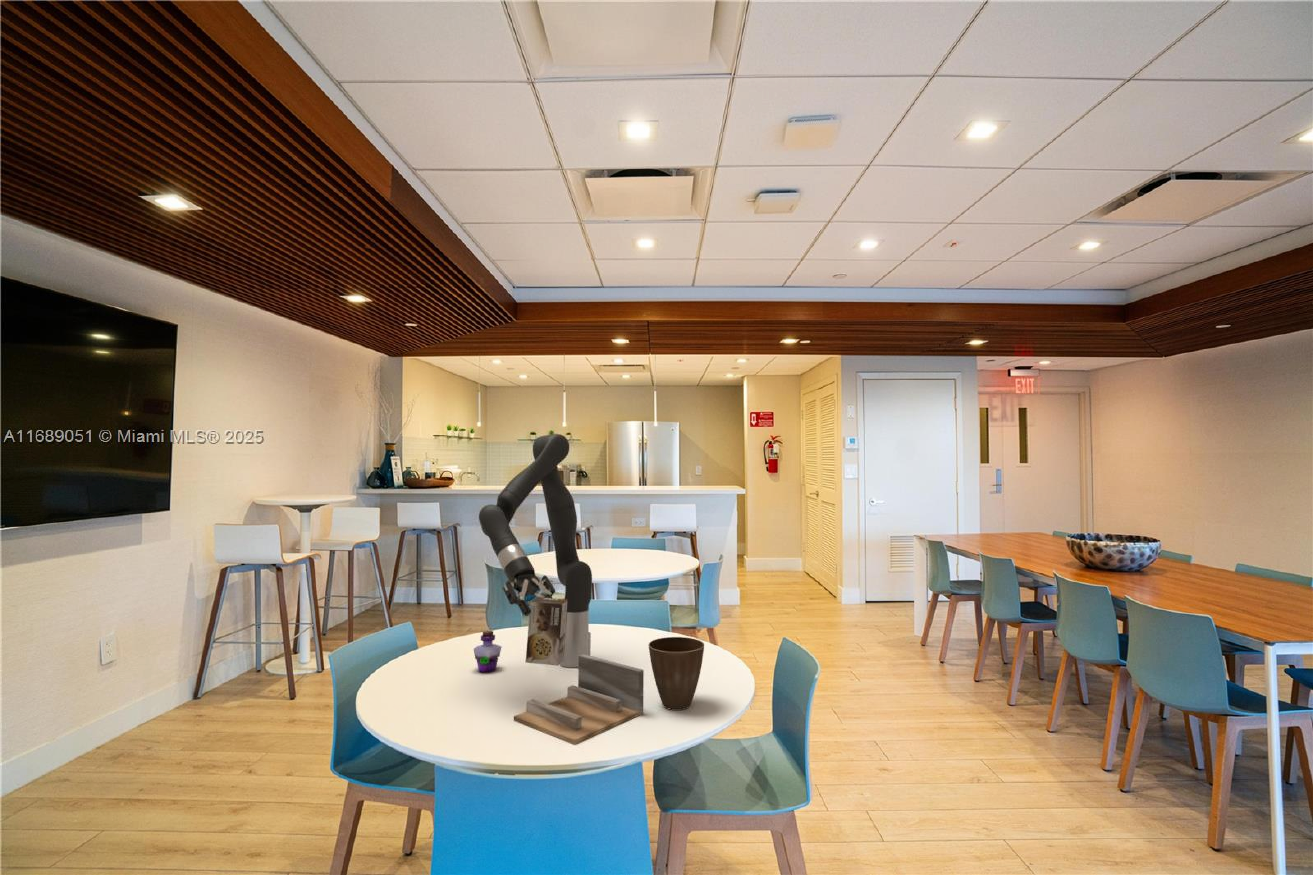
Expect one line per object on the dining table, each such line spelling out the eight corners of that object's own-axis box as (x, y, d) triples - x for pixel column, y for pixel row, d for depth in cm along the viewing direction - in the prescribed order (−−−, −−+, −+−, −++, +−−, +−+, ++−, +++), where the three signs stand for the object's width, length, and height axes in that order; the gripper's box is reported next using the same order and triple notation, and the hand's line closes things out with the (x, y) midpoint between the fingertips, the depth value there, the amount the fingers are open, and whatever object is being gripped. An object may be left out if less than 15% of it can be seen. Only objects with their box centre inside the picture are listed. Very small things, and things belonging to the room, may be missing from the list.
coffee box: (564, 659, 166) (569, 599, 167) (558, 666, 160) (563, 603, 161) (531, 656, 167) (537, 596, 168) (524, 662, 161) (529, 600, 162)
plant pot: (687, 720, 153) (687, 654, 154) (637, 708, 161) (637, 646, 162) (714, 702, 166) (713, 641, 167) (666, 692, 173) (666, 634, 174)
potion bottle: (474, 675, 187) (475, 635, 188) (471, 667, 195) (472, 629, 196) (503, 672, 190) (504, 633, 191) (499, 664, 198) (500, 627, 199)
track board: (583, 694, 171) (583, 654, 172) (643, 713, 157) (643, 669, 158) (513, 720, 153) (514, 675, 153) (574, 744, 139) (575, 694, 139)
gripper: (500, 558, 166) (526, 607, 158) (541, 553, 177) (568, 598, 169) (488, 576, 169) (513, 625, 161) (530, 570, 180) (555, 615, 172)
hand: (541, 611), depth 165 cm, fingers closed on coffee box, 8 cm apart
